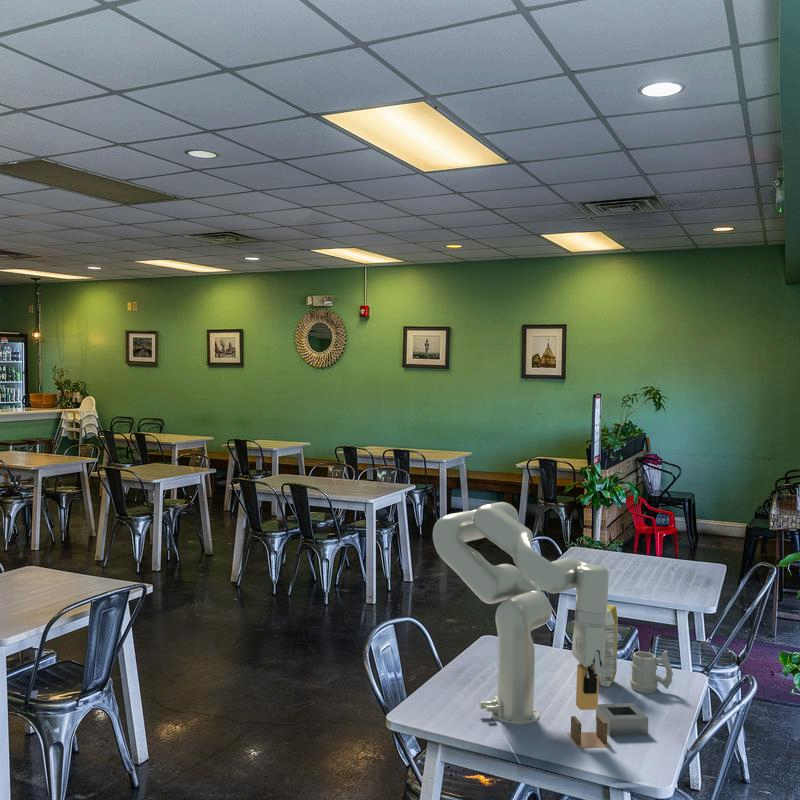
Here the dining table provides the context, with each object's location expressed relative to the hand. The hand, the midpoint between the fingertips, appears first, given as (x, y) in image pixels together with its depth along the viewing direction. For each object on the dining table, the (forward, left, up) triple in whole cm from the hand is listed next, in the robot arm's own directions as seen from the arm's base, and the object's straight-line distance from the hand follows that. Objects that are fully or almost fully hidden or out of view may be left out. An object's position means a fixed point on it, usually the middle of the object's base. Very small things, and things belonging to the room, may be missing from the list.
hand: (587, 689), depth 182 cm
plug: (0, 0, -4) cm, 4 cm away
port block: (+11, +5, -13) cm, 18 cm away
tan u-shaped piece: (0, -1, -13) cm, 13 cm away
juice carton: (+18, +37, -13) cm, 44 cm away
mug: (+31, +30, -13) cm, 46 cm away
